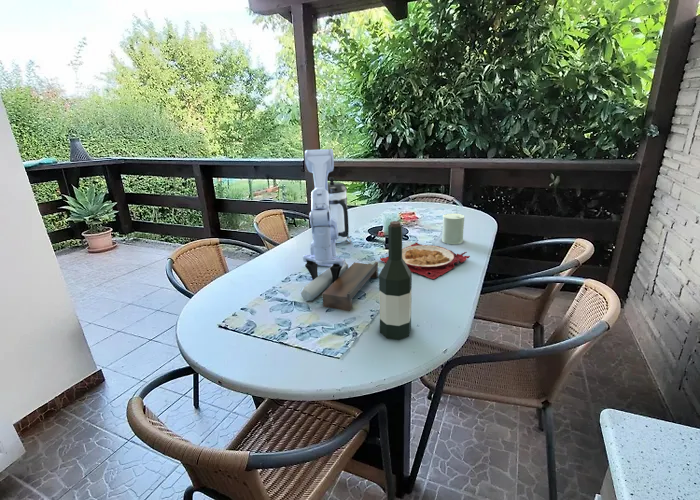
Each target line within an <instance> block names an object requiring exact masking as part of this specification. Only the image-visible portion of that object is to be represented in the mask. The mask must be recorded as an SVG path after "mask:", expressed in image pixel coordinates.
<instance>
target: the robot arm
mask: <svg viewBox="0 0 700 500" xmlns="http://www.w3.org/2000/svg"><path fill="white" fill-rule="evenodd" d="M304 161H305V162H304V163H305V167H306V169H307V171H308V173H311V174H312V176H313V184H314V189H313V190H312V191H311V193H310V194H311V195H310V197H311V198H310V200H311V204H310V205H311V206H310V208H311V211H310V212H309V223H310V228H311V236H312V242H311V244H310V254H305V255H303V256H302V261H303V263H305V265H304V266H305V267H304V268H306V269H307V271H308V273H309V274H310V277H311V280H314V279H315V278H316V277H318V276H319V273H318V272H319V271H318V268H319V266H320V267H328V268H330V267H331V266H332V265H333V266H332V267H331V268H330V270H331V273H332V279H333V283H334V282H335V281H336V280H337V279H338V277H339V273H340V271H341V268H342V266H344V265H345V262H346V260H345V259H346V258H341V257H338V256H337V249H336V248H337V247H336V243H335V239H336V240H337V239H338V225H337V221H336V220H335V219H334V218H332V217H331V212H330V208H329V193H328V178H329V174H330V173H332V172H334V169H335V161H334V149H332V148H325V149H306V150H305V151H304ZM333 283H332V284H333Z"/></svg>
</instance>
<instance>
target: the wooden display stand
mask: <svg viewBox="0 0 700 500" xmlns="http://www.w3.org/2000/svg"><path fill="white" fill-rule="evenodd" d="M378 263H379V262H378V261H374V263H373V264H371V263H363V262H352V264H351V265H350V266H348V269H347V270H346V271H345V272H344V273H343V274H342V275H341V276H340V277H339V278H338V279H337V280H336V281H335V282H334V283H332V284H331V285H330V286H329V287H328V288H327V289H325V290H324V291H323V292H322V293H321V294H322V295H321V296H322V307H323V308H329V309H335V310H340V311H346V312H351V311H352V310H353V298H354V297H355V296H356V295H357V294H358V293H359V291H360V290H361V289H362V288H363V286H365V284H366V283H367V282H368V280H369V279H370V278H371V279H378V278H379V264H378Z"/></svg>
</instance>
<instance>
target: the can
mask: <svg viewBox="0 0 700 500" xmlns="http://www.w3.org/2000/svg"><path fill="white" fill-rule="evenodd" d="M465 217H466V216H465V215H464V214H461V213H455V212H454V213H453V212H452V213H445V214H443V215H442V233H441V234H442V235H441V241H442V243H443V244H446V245H461V244H463V243H464V228H465V227H464V226H465Z"/></svg>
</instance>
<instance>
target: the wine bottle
mask: <svg viewBox="0 0 700 500" xmlns="http://www.w3.org/2000/svg"><path fill="white" fill-rule="evenodd" d="M401 223H402V222H401V221H399V220H393V221H392V220H391V221H390V222H389V225H388V227H387V229H388V231H387V235H388V236H387V237H388V244H387V245H388V247H387V248H388V253H387V254H388V256H389V259H388V261H387V262H386V263H384V265H383V267H382V269H381V270H380V272H379V273H378V290H379V291H378V294H379V295H378V296H379V297H378V301H379V302H378V303H379V304H378V305H379V333H380V334H381V335H382V336H383V337H384V338H386V340H387V339H389V340H395V341H400V340H403V339H406V338H409V337H410V334H411V331H412V290H413V289H412V286H413V285H412V284H413V283H412V282H413V272H411V271H410V269H409V268H408V266H407V264H406V263H405V261H404V260H403V258H402V249H403V224H401Z"/></svg>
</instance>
